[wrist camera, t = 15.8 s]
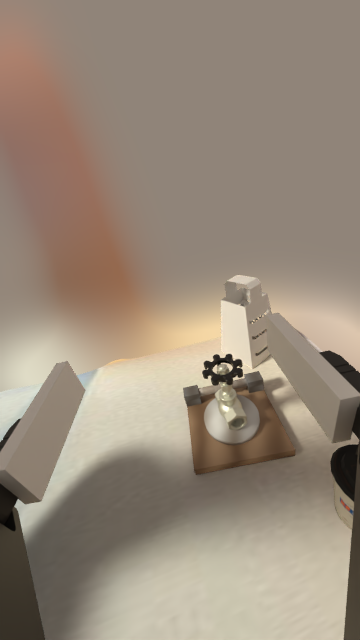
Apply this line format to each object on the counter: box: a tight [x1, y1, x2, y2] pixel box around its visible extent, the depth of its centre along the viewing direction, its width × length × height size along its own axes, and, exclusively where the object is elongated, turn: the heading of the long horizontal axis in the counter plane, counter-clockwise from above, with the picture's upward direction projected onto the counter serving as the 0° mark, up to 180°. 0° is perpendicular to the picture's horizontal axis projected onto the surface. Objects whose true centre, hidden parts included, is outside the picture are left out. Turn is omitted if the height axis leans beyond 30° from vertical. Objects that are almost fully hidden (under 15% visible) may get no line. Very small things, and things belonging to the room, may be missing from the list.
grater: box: [221, 275, 272, 369], centre depth 54 cm, size 10×10×20 cm
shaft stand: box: [183, 371, 295, 475], centre depth 41 cm, size 16×15×4 cm
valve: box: [202, 354, 247, 430], centre depth 38 cm, size 7×7×12 cm
